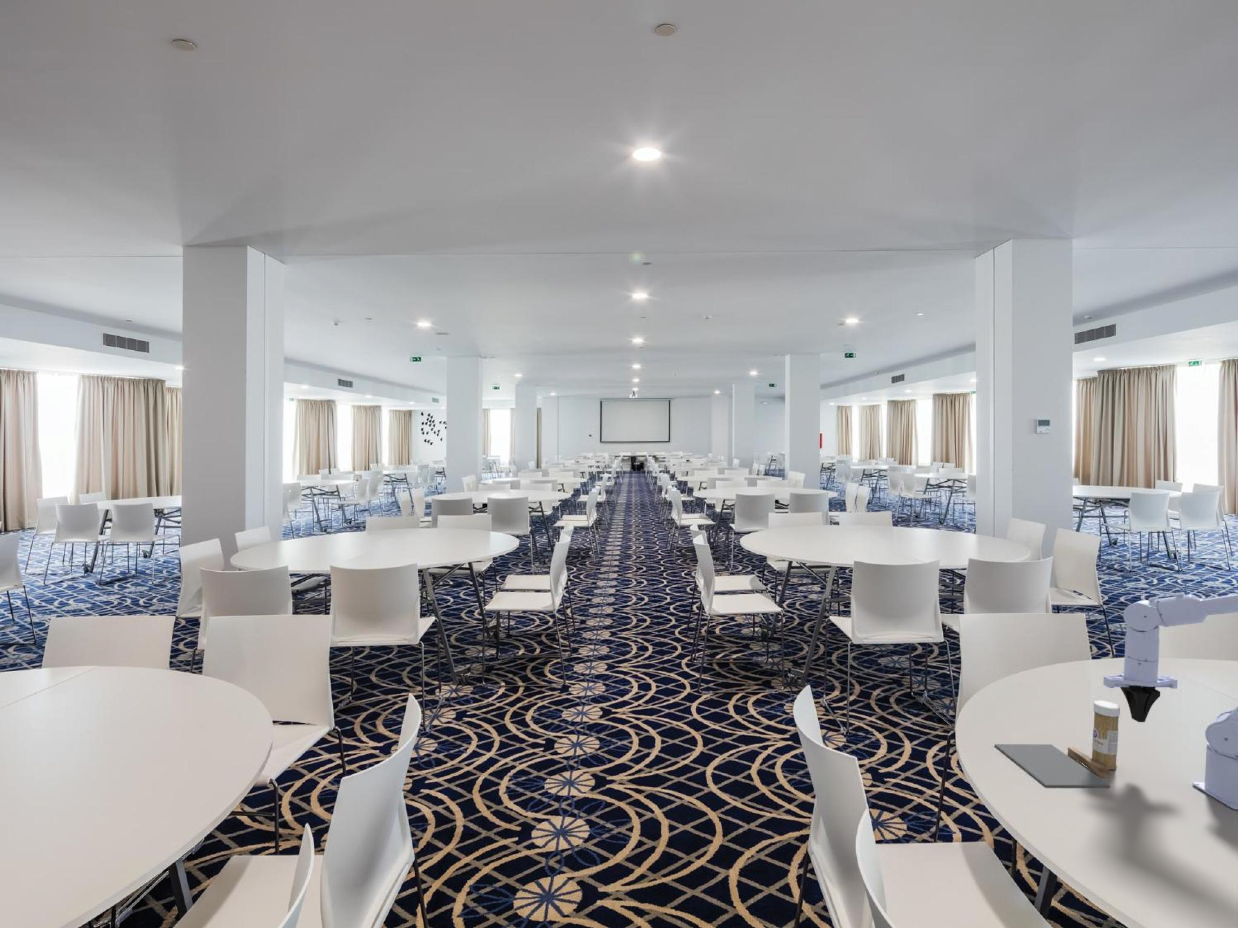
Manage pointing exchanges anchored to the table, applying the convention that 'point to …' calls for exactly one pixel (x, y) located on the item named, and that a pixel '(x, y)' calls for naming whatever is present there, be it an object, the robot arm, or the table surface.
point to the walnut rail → (1088, 762)
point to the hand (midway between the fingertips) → (1138, 720)
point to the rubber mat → (1050, 765)
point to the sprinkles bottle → (1105, 733)
